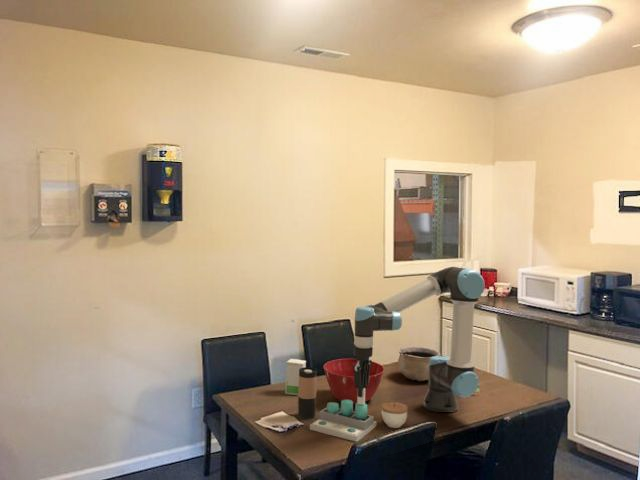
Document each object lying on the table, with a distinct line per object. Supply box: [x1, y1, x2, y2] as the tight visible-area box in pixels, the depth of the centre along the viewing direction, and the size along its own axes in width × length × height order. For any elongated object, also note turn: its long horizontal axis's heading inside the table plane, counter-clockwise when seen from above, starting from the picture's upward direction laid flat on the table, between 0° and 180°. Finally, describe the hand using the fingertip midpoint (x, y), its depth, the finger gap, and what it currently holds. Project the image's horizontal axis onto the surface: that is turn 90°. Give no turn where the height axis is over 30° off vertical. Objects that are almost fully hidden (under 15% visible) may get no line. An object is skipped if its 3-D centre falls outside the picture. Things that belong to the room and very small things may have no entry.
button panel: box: [309, 406, 377, 443], centre depth 215 cm, size 21×18×5 cm
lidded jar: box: [381, 401, 408, 429], centre depth 220 cm, size 11×11×9 cm
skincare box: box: [284, 358, 307, 396], centre depth 256 cm, size 8×7×16 cm
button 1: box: [354, 402, 368, 419], centre depth 214 cm, size 5×5×5 cm
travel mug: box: [297, 366, 318, 420], centre depth 227 cm, size 8×8×20 cm
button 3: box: [326, 401, 340, 414], centre depth 221 cm, size 5×5×5 cm
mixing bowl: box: [322, 358, 385, 405], centre depth 249 cm, size 28×28×16 cm
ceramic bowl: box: [397, 346, 441, 382], centre depth 283 cm, size 22×22×15 cm
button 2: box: [340, 400, 354, 416], centre depth 217 cm, size 5×5×5 cm
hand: (361, 403), depth 214 cm, fingers closed
